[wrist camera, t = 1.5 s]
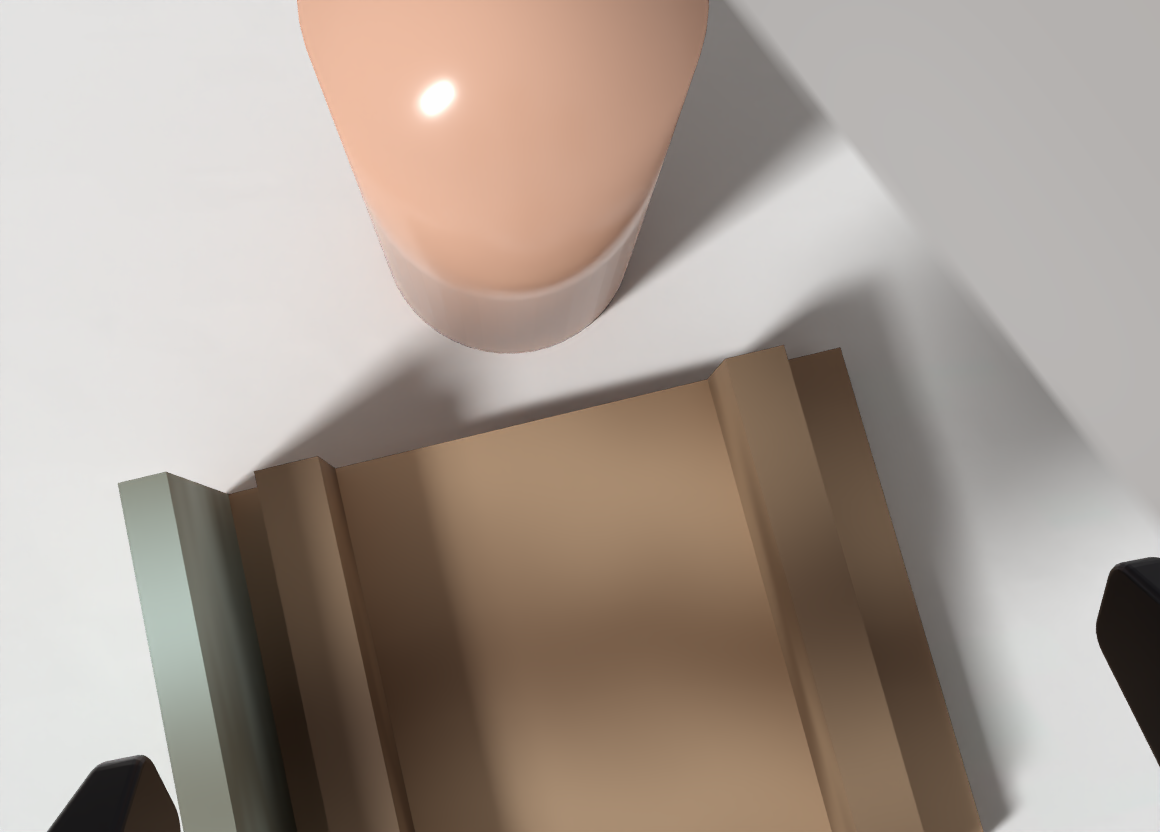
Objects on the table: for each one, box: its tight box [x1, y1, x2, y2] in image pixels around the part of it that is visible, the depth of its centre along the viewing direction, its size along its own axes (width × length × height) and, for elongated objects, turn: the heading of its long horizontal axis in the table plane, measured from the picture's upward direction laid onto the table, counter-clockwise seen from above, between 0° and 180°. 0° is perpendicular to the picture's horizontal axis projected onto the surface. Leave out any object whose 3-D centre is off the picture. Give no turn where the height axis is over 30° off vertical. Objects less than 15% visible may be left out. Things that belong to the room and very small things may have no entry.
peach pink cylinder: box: [297, 0, 709, 353], centre depth 20 cm, size 6×6×10 cm
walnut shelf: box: [118, 345, 983, 832], centre depth 20 cm, size 11×14×5 cm
